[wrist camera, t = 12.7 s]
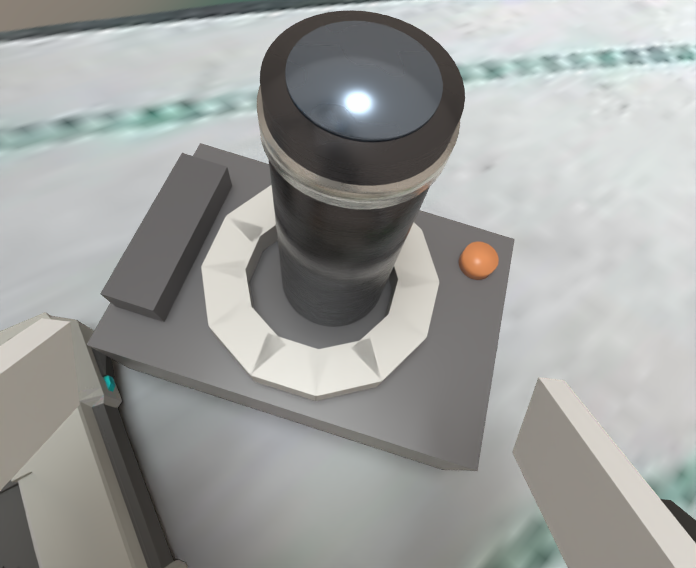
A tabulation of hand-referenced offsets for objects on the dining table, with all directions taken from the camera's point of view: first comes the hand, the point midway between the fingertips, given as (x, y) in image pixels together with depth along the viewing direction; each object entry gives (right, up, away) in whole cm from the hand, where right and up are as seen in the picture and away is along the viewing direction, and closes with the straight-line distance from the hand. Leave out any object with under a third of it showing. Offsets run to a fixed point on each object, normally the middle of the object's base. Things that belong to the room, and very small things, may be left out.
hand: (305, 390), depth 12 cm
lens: (0, +3, +9) cm, 10 cm away
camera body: (-1, +1, +14) cm, 14 cm away
